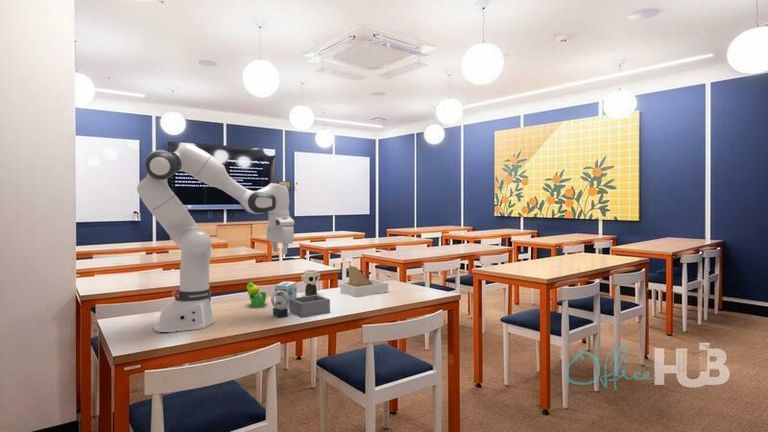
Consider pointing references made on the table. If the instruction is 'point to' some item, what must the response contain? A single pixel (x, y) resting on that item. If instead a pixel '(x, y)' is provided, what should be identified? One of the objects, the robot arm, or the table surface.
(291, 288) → the light bulb box
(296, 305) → the crate
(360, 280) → the sandwich container
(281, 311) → the watch
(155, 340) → the table surface
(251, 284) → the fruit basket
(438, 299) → the table surface
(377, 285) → the light grey tray
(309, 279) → the big eyed figurine
